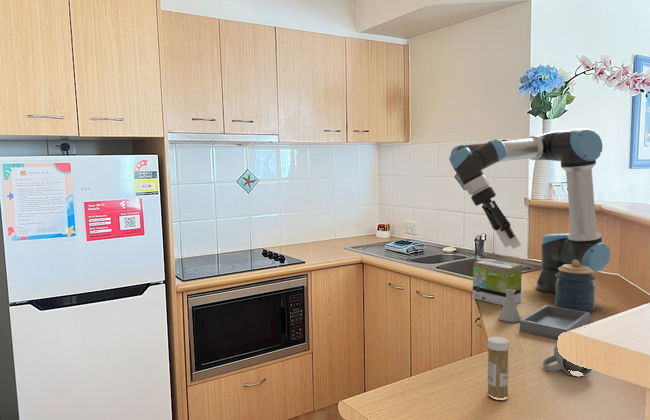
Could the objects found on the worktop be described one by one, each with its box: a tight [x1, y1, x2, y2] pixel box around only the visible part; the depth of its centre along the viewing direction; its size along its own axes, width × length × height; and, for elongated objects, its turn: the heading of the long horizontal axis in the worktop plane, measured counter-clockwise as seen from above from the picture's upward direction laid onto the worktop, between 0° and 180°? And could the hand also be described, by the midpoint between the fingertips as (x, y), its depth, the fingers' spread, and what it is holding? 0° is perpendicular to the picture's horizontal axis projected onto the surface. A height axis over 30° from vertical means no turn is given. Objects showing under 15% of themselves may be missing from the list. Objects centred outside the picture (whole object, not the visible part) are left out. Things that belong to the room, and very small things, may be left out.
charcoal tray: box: [519, 304, 591, 340], centre depth 157 cm, size 22×14×4 cm, turn 136°
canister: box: [554, 260, 597, 314], centre depth 175 cm, size 13×13×18 cm
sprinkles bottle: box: [487, 336, 510, 398], centre depth 110 cm, size 5×5×14 cm
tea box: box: [472, 258, 523, 307], centre depth 187 cm, size 15×10×15 cm, turn 40°
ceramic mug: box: [542, 343, 593, 376], centre depth 124 cm, size 11×8×8 cm
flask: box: [498, 289, 522, 324], centre depth 164 cm, size 7×7×10 cm
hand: (512, 246), depth 163 cm, fingers open, 13 cm apart
